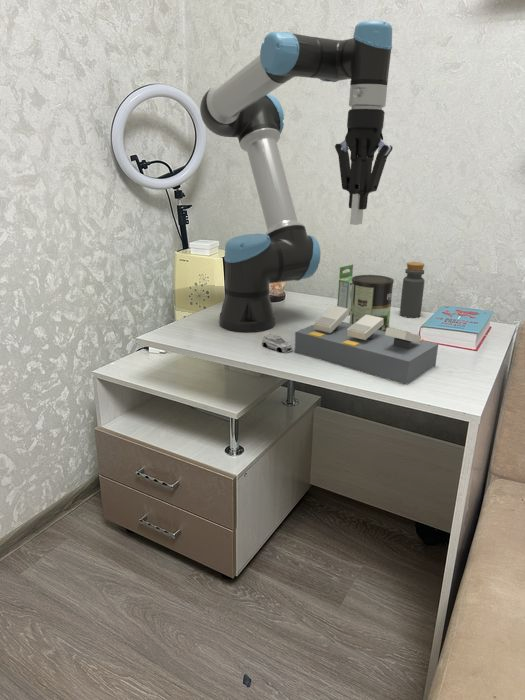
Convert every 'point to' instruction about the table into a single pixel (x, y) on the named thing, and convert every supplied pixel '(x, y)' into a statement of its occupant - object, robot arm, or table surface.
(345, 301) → the ink box
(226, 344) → the table surface
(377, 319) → the rocker mid
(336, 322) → the rocker left
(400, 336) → the rocker right
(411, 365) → the switch unit
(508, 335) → the table surface
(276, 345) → the toy car
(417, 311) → the bottle
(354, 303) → the coffee can
